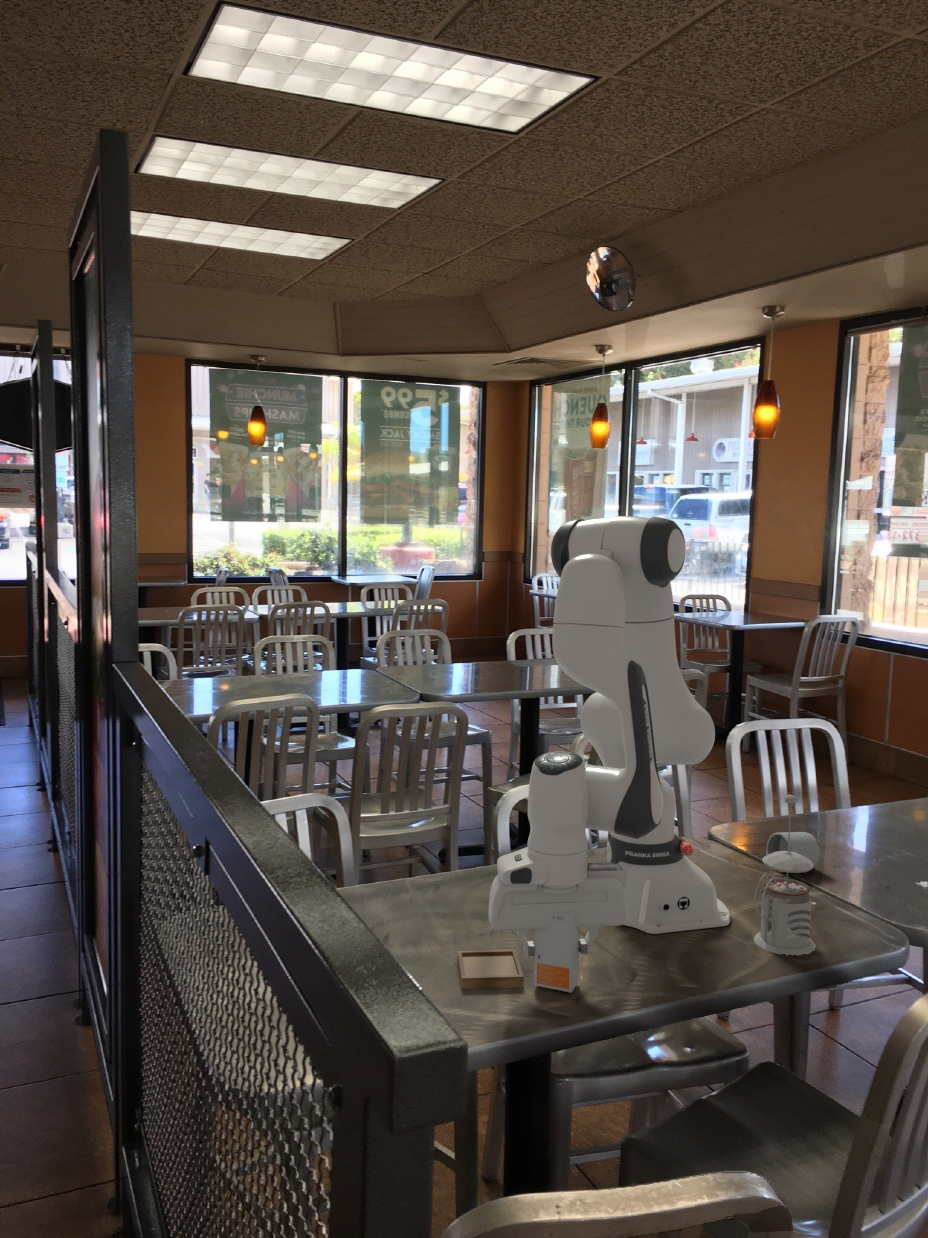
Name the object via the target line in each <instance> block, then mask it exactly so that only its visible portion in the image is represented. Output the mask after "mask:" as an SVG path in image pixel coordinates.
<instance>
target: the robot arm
mask: <svg viewBox="0 0 928 1238" xmlns="http://www.w3.org/2000/svg"><path fill="white" fill-rule="evenodd" d="M550 557H551V558H550V559H551V564H552V566H553V569H554V571H555V572H556V574H557V576H558V577H559V582H558V586H557V587H558V588H557V592H556V597H555V602H554V603H555V604H554V611H553V621H552V623H553V624H552V637H551V638H552V640H551V641H552V653H553V657H554V660H555V662H556V664H557V665H558V666H559V668H560V669H561V670H562V672H563V673H565V675H566V676H568V677H569V678H571V679H572V680H573V681H575V682H576V683H578V684H580V685H582V686H584V687H586V688H588V689H590V690H591V691H594V693H592V694H591V695H589V697H588V698H587V699H586V701H584V704H583V705H582V708H581V711H580V716H579V721H580V722H579V725H580V730H581V732H582V735H583V736H584V737H585V739H586V740H587V741H588V742H589V743H590V745H591V746H592V747H593V748H594V750H595V751H596V754H597V755H598V757H599V759H600V762H601V764H602V765H601V766H599V765H593V764H590V763H585V761H584V759H583V757H582V756H581V755H579V754H577V753H575V752H571V751H565V750H556V751H554V750H553V751H550V752H549V751H548V752H546V753H543V754H541V755H539V756H537V757H536V758H535V760H534V761H533V763H532V767H531V773H530V778H529V783H528V784H529V786H528V798H527V818H528V821H529V826H530V827H529V828H530V832H529V835H528V838H527V839H528V840H527V847H524V848H521V849H518V850H515V851H513V852H510V853H506V854H504V855H501V856H499V857H498V859H497V861H496V869H497V875H495V877H494V879H493V881H492V882H491V886H490V890H489V891H490V892H489V898H488V899H489V900H488V921H489V924H490V926H491V927H492V928H493V929H494V930H495V931H515V932H516V935H517V937H518V939H519V940H520V942H521V943H522V946H523V947H522V951H523V956H524V958H529V957H534V956H535V953H534V950H535V946H534V941H533V940H528V939H527V938H526V936H527V935H528V930H534V929H546V928H550V927H551V925H552V913H554V912H576V927H580V928H587V933H586V934H585V936H584V938H580V940H579V955H591V953H592V944H593V942H594V940H595V939H596V937H597V936H598V934H599V929H600V928H599V927H615V926H617V927H618V926H626V927H631V928H635V929H638V930H640V931H642V932H644V933H647V934H650V935H657V934H665V933H666V934H667V933H673V932H676V933H677V932H683V931H692V930H700V929H701V930H702V929H708V928H709V929H710V928H718V927H726V926H728V925H730V922H731V915H730V911H729V909H728V907H727V906H726V905H725V904H724V902H722V900H720V899H719V898H717V891H716V887H715V885H714V883H713V880H712V879H711V878H710V876H709V875H708V874H707V873H706V871H704V870H703V869H701V868H700V867H699V866H698V865H696V864H695V863H694V862H693V861H692V860H690V859H689V858H688V857H690V856H692V854H694V851H695V849H694V847H693V845H692V844H691V843H690V842H688V841H685V839H684V838H683V837H681V836H679V835H678V834H677V833H675V825H676V824H675V819H676V816H675V815H676V796H675V792H674V789H673V788H672V786H671V785H670V784H669V783H668V782H667V781H666V780H665V779H664V778H663V777H662V775H661V774H660V773H659V771H658V764H657V763H662V764H666V765H671V766H675V765H676V766H677V765H678V766H686V765H687V766H688V765H697V764H699V763H701V762H703V761H704V760H705V759H706V758H707V756H708V755H709V754H710V752H711V751H712V749H713V747H714V743H715V740H716V739H715V738H716V731H715V730H716V728H715V724H714V720H713V718H712V716H711V715H710V713H709V712H708V711H707V710H706V709H705V708H704V707H702V705H701V704H700V703H699V702H698V701H697V699H695V697H694V695H693V694H692V692H691V691H690V689H689V688H688V685H687V683H686V681H685V679H684V678H683V677H684V676H683V675H682V671H681V669H680V666H679V661H678V656H677V655H678V654H677V647H676V645H677V643H676V629H675V609H674V595H673V589H672V585H671V584H672V583H671V582H672V581H674V580H675V579H676V578H677V576H679V574H680V572H682V570H683V567H684V564H685V559H686V539H685V536H684V533H683V530H682V529H681V528H680V526H679V525H678V523H677V522H676V521H675V520H671V519H669V518H666V517H659V516H652V517H645V516H644V517H643V516H633V515H632V516H630V515H616V516H613V517H599V518H591V519H587V520H586V519H584V518H579V519H574V520H571V521H567V522H565V523H562V524H561V525H560V527H559V528H558V529H557V531H556V532H555V533H554V535H553V537H552V540H551V546H550ZM586 829H587V830H594V831H600V832H601V831H603V832H608V834H607V841H606V861H607V862H588V861H589V842H588V837H587V833H586Z"/></svg>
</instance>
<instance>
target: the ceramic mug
mask: <svg viewBox="0 0 928 1238" xmlns="http://www.w3.org/2000/svg"><path fill="white" fill-rule="evenodd" d="M788 835H789V831H785V832H784V831H783V832H779V831H778V832H774V833H772V835H771V834H770V836H769V838H768V840H767V843H766V853H765V854H766V855H765V856H767V855H769V854H771V853H774V852H778V851H788ZM789 852H795V853H798V854H800V855H802V856H804V857H806V858H808V859H809V860H811V861H812V862H813V864H814V867H816V866H817V865H818V864H819V862H820V860H821V855H822V851H821V846H820V843H819V840H818V839H817V837H816V836H814V835H813V834H812V833H810V832H805V831H793V832H791V831H790V843H789ZM778 872H779V873H781V872H780V871H778Z"/></svg>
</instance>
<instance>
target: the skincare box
mask: <svg viewBox="0 0 928 1238" xmlns="http://www.w3.org/2000/svg"><path fill="white" fill-rule="evenodd" d="M580 930H581V927H576V912H554V913H552V925H551V927H550V928H546V929H533V931H534V933H533V934H534V935H533V939H534V941H533V944H534V946H535V950H534V953H535V956H533V986H534V987H535V986H536V987H540V988H541V987H542V988H546V989H551V990H558V991H562V992H567V993H573V991H574V989H575V987H576V985H577V984H578V982H579V980H580V979H579V978H580V977H579V976H580V975H579V974H580V952H579V940H580V939H581V938H580V937H581V936H580V935H581V932H580Z"/></svg>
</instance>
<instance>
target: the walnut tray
mask: <svg viewBox="0 0 928 1238" xmlns="http://www.w3.org/2000/svg"><path fill="white" fill-rule="evenodd" d="M457 968H458V973H459V979H460V980H459V981H460V986H461V987H460V988H461V990H477V989H481V990H482V989H483V990H484V989H511V988H512V989H513V988H524V981H525V979H524V977H525V976H524V973H523V970H522V966H521V963H520V959H519V956H518V952H517V949H488V950H487V949H485V950H457Z"/></svg>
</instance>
